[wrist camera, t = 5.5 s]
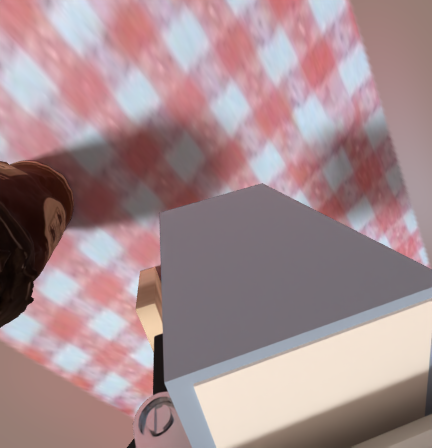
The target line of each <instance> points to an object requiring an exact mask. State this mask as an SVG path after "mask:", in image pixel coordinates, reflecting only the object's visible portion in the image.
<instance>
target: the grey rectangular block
mask: <svg viewBox="0 0 432 448" xmlns="http://www.w3.org/2000/svg"><path fill="white" fill-rule="evenodd" d="M159 218H160V253H161V288H162V323H163V358H164V383H165V386H166V388H167V390H168V393H169V395H170V397H171V400H172V402H173V404H174V407H175V409H176V411H177V414H178V416H179V418H180V421H181V423H182V425H183V428H184V430H185V432H186V435H187V437H188V439H189V442H190V444H191V446H192V448H350V447H352V446H355V445H357V444H360V443H362V442H365V441H367V440H369V439H372V438H374V437H377V436H379V435H381V434H384V433H386V432H389V431H391V430H393V429H396V428H398V427H401V426H403V425H406V424H408V423H411V422H413V421H416V420H418V419H420V418H423V417H425V416H428V415H430V414H432V269H430V268H428V267H426V266H424V265H422V264H420V263H418V262H416V261H414V260H412V259H410V258H408V257H406V256H404V255H402V254H400V253H398V252H396V251H395V250H393V249H391V248H389V247H387V246H385V245H383V244H381V243H379V242H377V241H375V240H373V239H371V238H369V237H367V236H365V235H363V234H361V233H359V232H357V231H355V230H353V229H351V228H349V227H347V226H345V225H343V224H341V223H339V222H337V221H336V220H334V219H332V218H330V217H328V216H326V215H324V214H322V213H320V212H318V211H316V210H314V209H312V208H310V207H308V206H306V205H304V204H302V203H300V202H298V201H296V200H294V199H292V198H290V197H288V196H286V195H284V194H282V193H280V192H278V191H276V190H275V189H273V188H271V187H269V186H267V185H265V184H263V183H262V184H258V185H255V186H251V187H248V188H244V189H241V190H237V191H234V192H230V193H227V194H223V195H220V196H216V197H213V198H209V199H206V200H202V201H199V202H195V203H192V204H188V205H185V206H181V207H178V208H174V209H171V210H167V211H164V212H160V213H159Z"/></svg>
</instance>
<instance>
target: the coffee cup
mask: <svg viewBox="0 0 432 448" xmlns="http://www.w3.org/2000/svg"><path fill="white" fill-rule="evenodd" d="M73 207H74V203H73V194H72V190H71V189H70V187H69V185H68V183H67V181H66V179H65V177H64V176H63V175H62V174H60V173H58V172H56V171H54V170H53V169H52V168H51V167H49V166H48V165H43V164H40V163H39V162H36V161H19V162H16V163H13V164H10V165H9V164H8V163H7V162H2V161H0V328H1V327H2V326H3V325H5V324H7V323H9V322H11V321H12V320H14V319H15V318H17V317H18V316H19V315H20V314H21V313H22V312H24V311H25V309H26V307H27V305H28V304H30V303H32V302H33V301H34V299H33V298H32V297H31V295H32V293H33V290H32V289H33V287H34V283H33V281H34V280H35V279H36V278H37V277H38V276H39V275H40V274H41V272H42V271H43V269H44V267H45V265H46V263H47V262H48V260H49V258H50V257H51V255H52V253H53V251H54V249H55V248H56V246H57V245H58V243H59V241H60V239H61V237H62V235H63V232H64V230H65V228H66V226H67V224H68V223H69V221H70V220H71V216H72V213H73Z"/></svg>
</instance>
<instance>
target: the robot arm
mask: <svg viewBox="0 0 432 448" xmlns="http://www.w3.org/2000/svg"><path fill="white" fill-rule="evenodd" d="M133 433H134V439H133V440H132V442H131V443H130V444H129V446H128V447H127V448H192V446H191V444H190V442H189V439H188V437H187V435H186V432H185V430H184V428H183V425H182V423H181V421H180V418H179V416H178V414H177V411H176V409H175V407H174V404H173V402H172V400H171V397H170V395H169V393H168V390H167V388H166V386H165V383H164V358H163V333H162V334H159V335H156V336H155V337H154V373H153V396H151V397H150V398H149V399H147V400H146V401H145V402H144V403H143V404H142V405H141V406H140V408H139V410H138V411H137V413H136V415H135V419H134V422H133ZM350 448H432V414H430V415H428V416H425V417H423V418H420V419H418V420H416V421H413V422H411V423H408V424H406V425H403V426H401V427H398V428H396V429H393V430H391V431H389V432H386V433H384V434H381V435H379V436H377V437H374V438H372V439H369V440H367V441H365V442H362V443H360V444H357V445H355V446H352V447H350Z"/></svg>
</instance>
